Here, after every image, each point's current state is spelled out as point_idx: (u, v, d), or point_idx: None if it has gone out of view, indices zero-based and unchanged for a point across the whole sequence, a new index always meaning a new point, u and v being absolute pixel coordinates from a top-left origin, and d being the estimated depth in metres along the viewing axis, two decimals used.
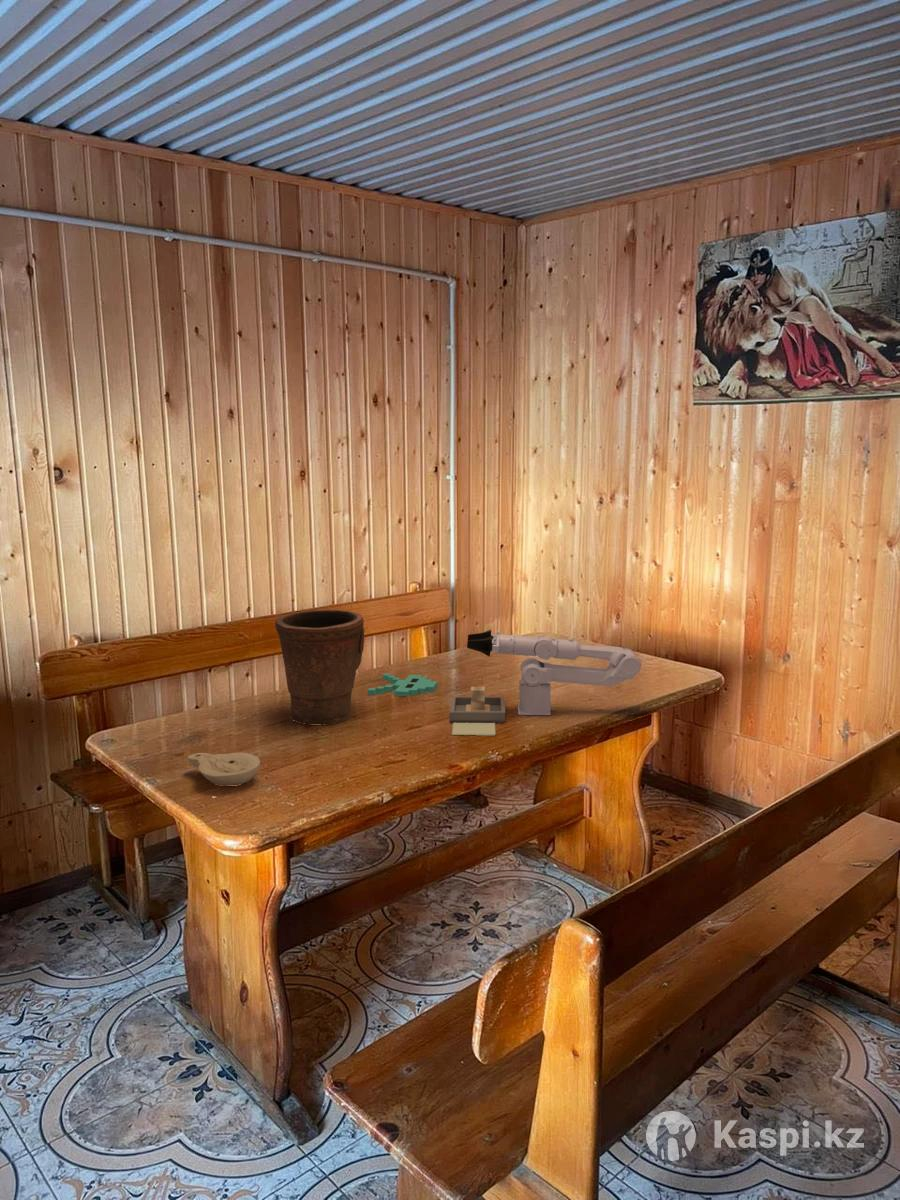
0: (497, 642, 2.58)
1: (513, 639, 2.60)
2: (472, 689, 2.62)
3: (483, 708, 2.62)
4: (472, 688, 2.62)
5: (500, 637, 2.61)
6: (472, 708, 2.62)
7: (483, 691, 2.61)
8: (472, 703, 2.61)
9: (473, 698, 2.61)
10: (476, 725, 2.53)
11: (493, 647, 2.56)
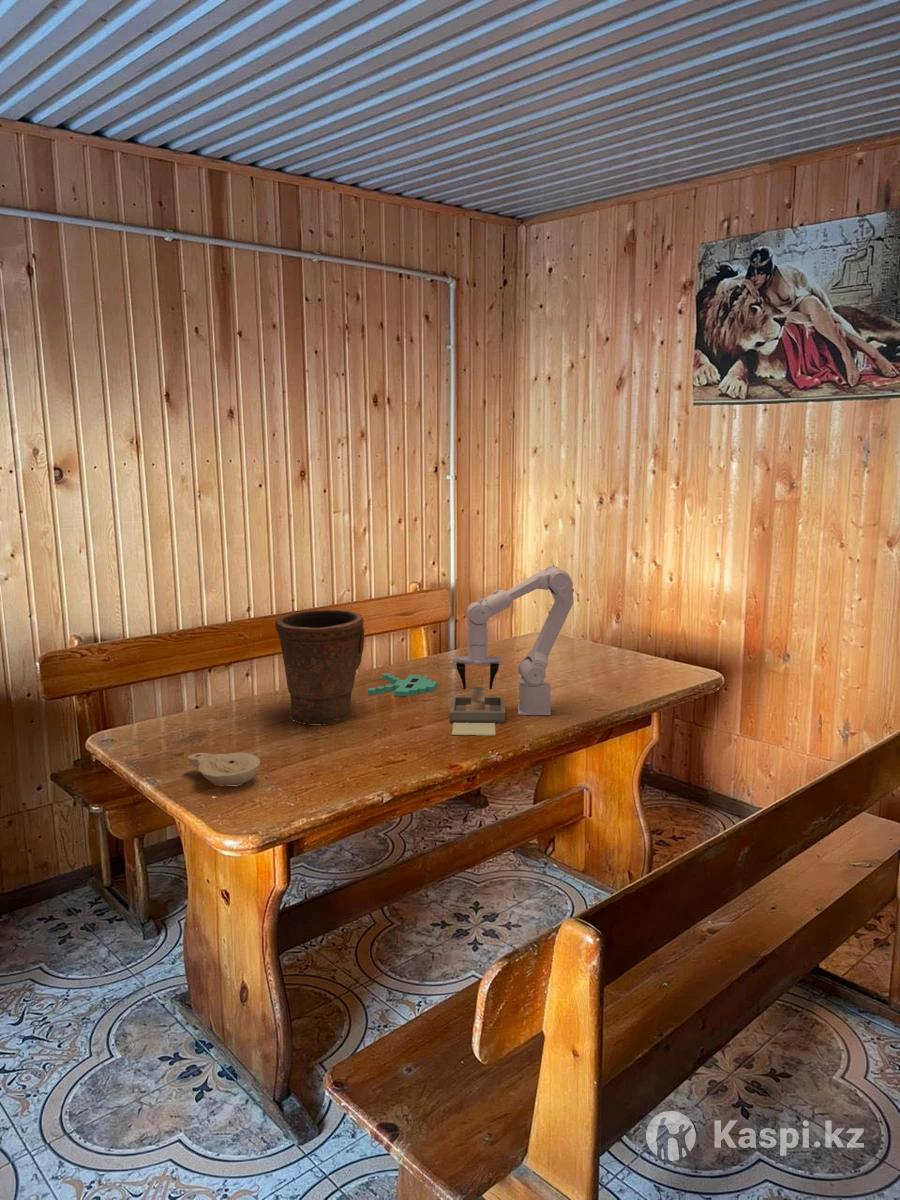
0: (494, 661, 2.59)
1: (484, 645, 2.58)
2: (472, 689, 2.62)
3: (483, 708, 2.62)
4: (472, 688, 2.62)
5: (483, 658, 2.58)
6: (472, 708, 2.62)
7: (483, 691, 2.61)
8: (472, 703, 2.61)
9: (473, 698, 2.61)
10: (476, 725, 2.53)
11: None
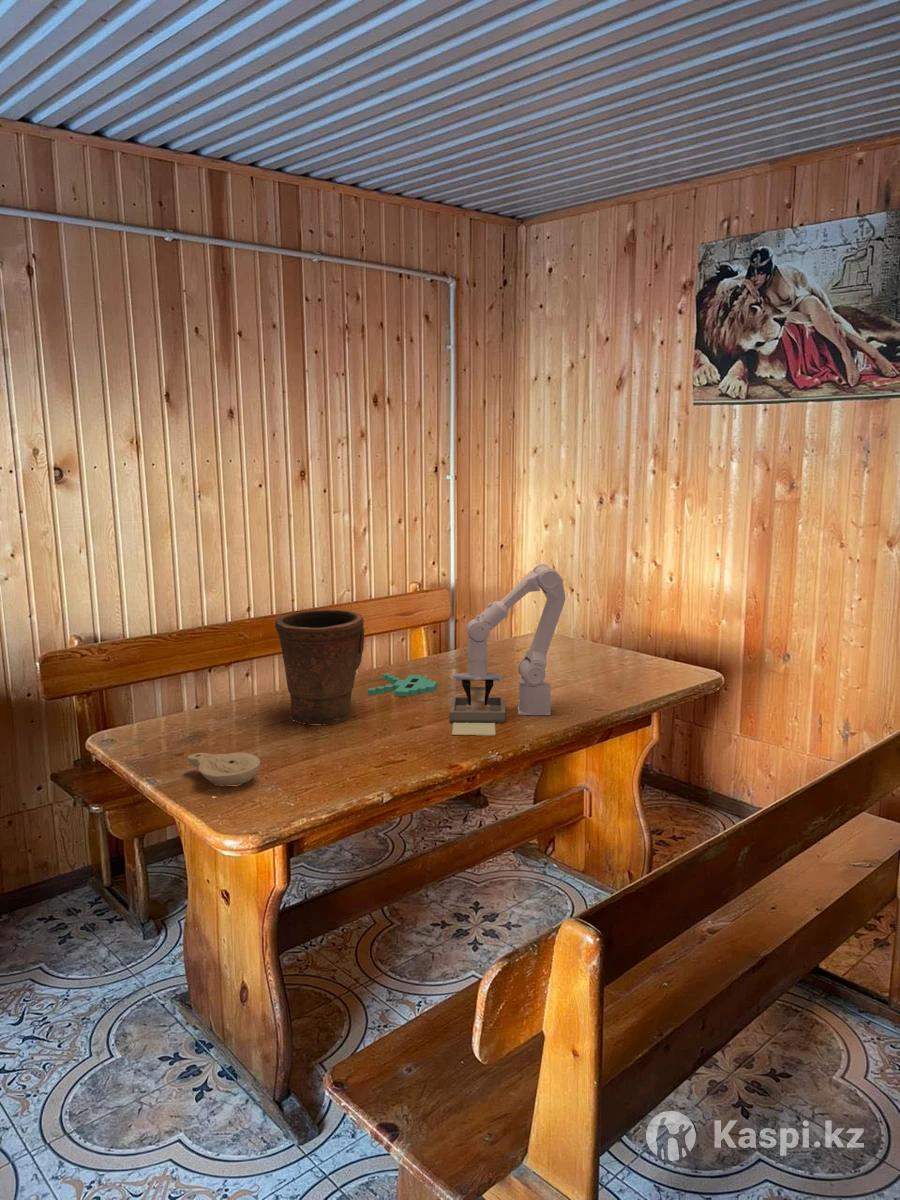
0: (494, 677, 2.60)
1: (484, 662, 2.59)
2: (472, 689, 2.62)
3: (483, 708, 2.62)
4: (472, 688, 2.62)
5: (483, 675, 2.59)
6: (472, 708, 2.62)
7: (483, 691, 2.61)
8: (472, 703, 2.61)
9: (473, 698, 2.61)
10: (476, 725, 2.53)
11: None
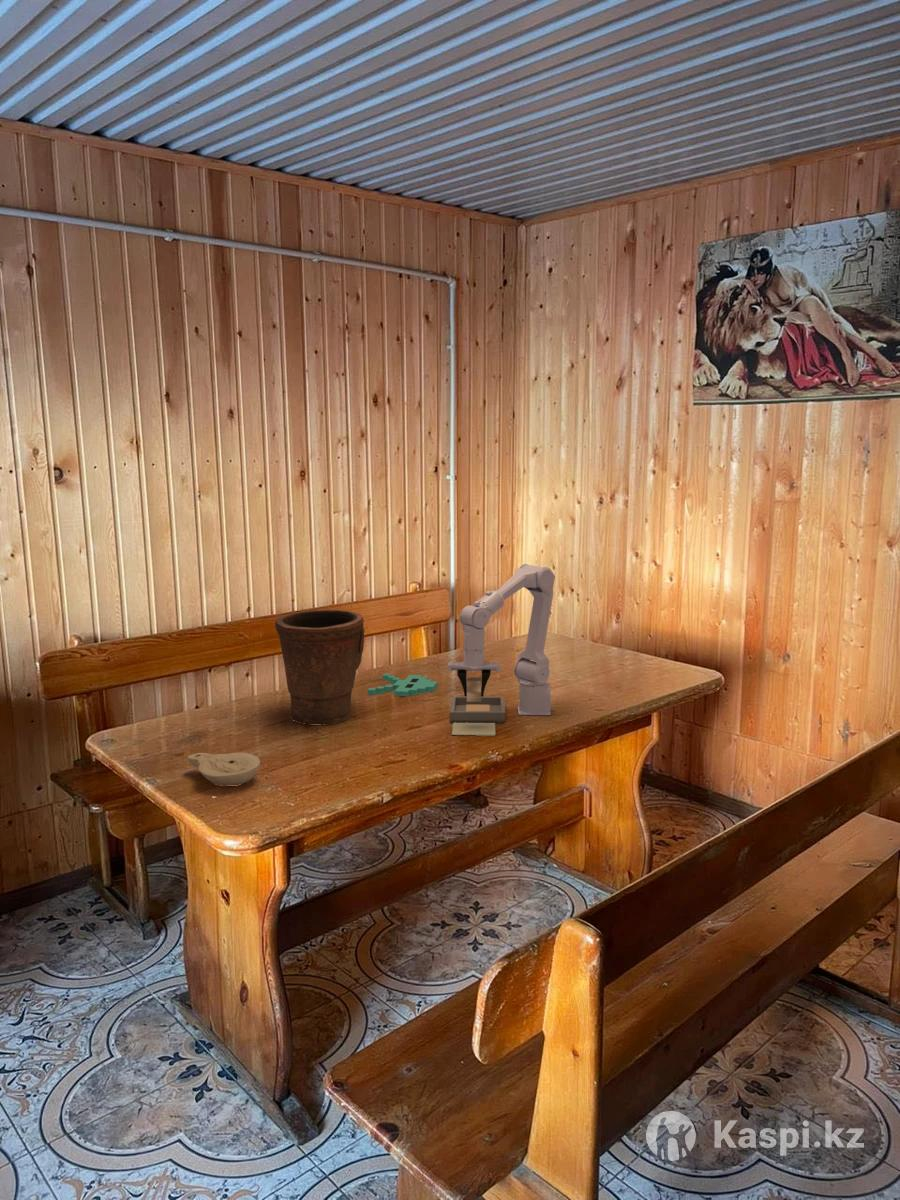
0: (491, 667, 2.47)
1: (480, 651, 2.46)
2: (468, 679, 2.49)
3: (479, 699, 2.49)
4: (468, 679, 2.50)
5: (479, 664, 2.46)
6: (468, 699, 2.49)
7: (479, 681, 2.48)
8: (468, 694, 2.49)
9: (469, 689, 2.48)
10: (476, 725, 2.53)
11: (499, 669, 2.48)
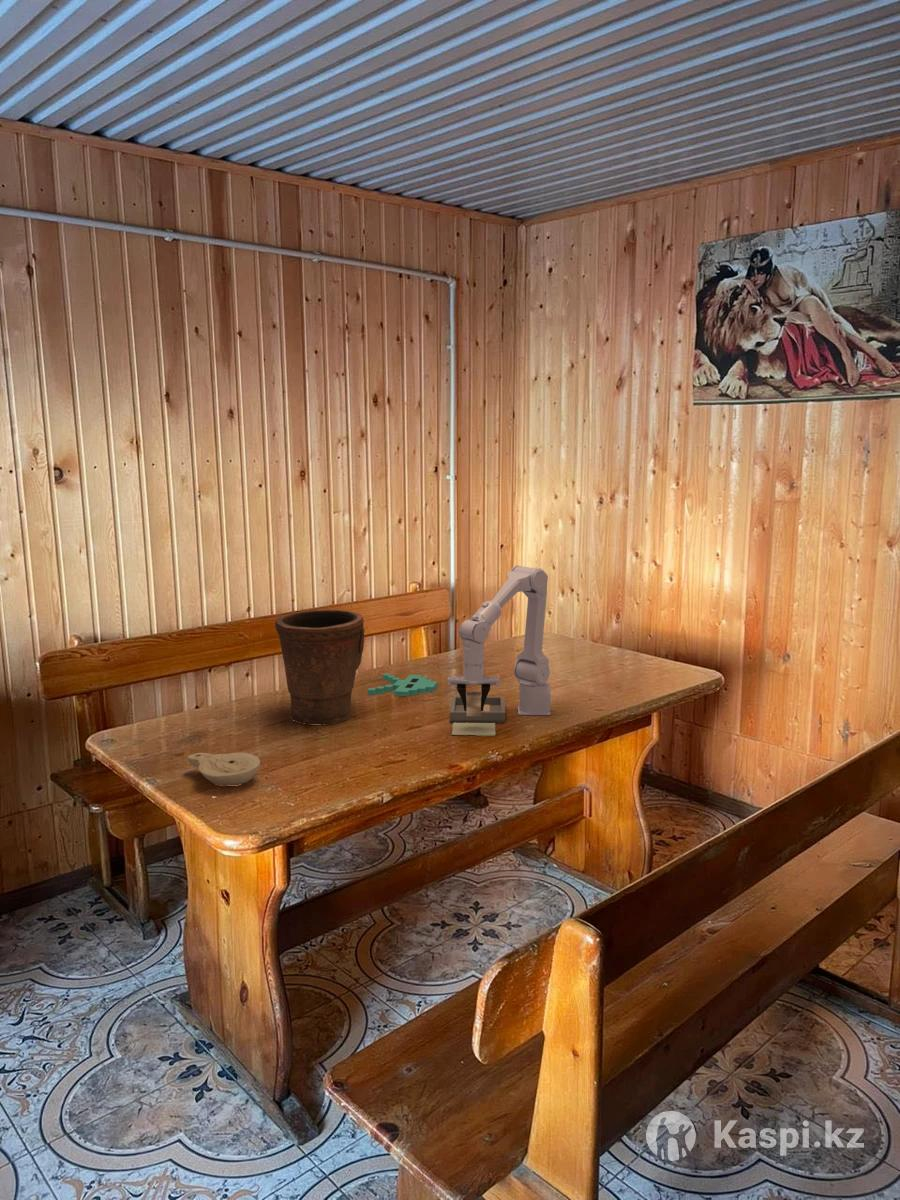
0: (490, 681, 2.46)
1: (480, 665, 2.45)
2: (468, 694, 2.48)
3: (479, 714, 2.48)
4: (468, 693, 2.48)
5: (479, 679, 2.45)
6: (468, 714, 2.48)
7: (479, 696, 2.47)
8: (468, 709, 2.48)
9: (469, 704, 2.47)
10: (476, 725, 2.53)
11: (499, 684, 2.47)
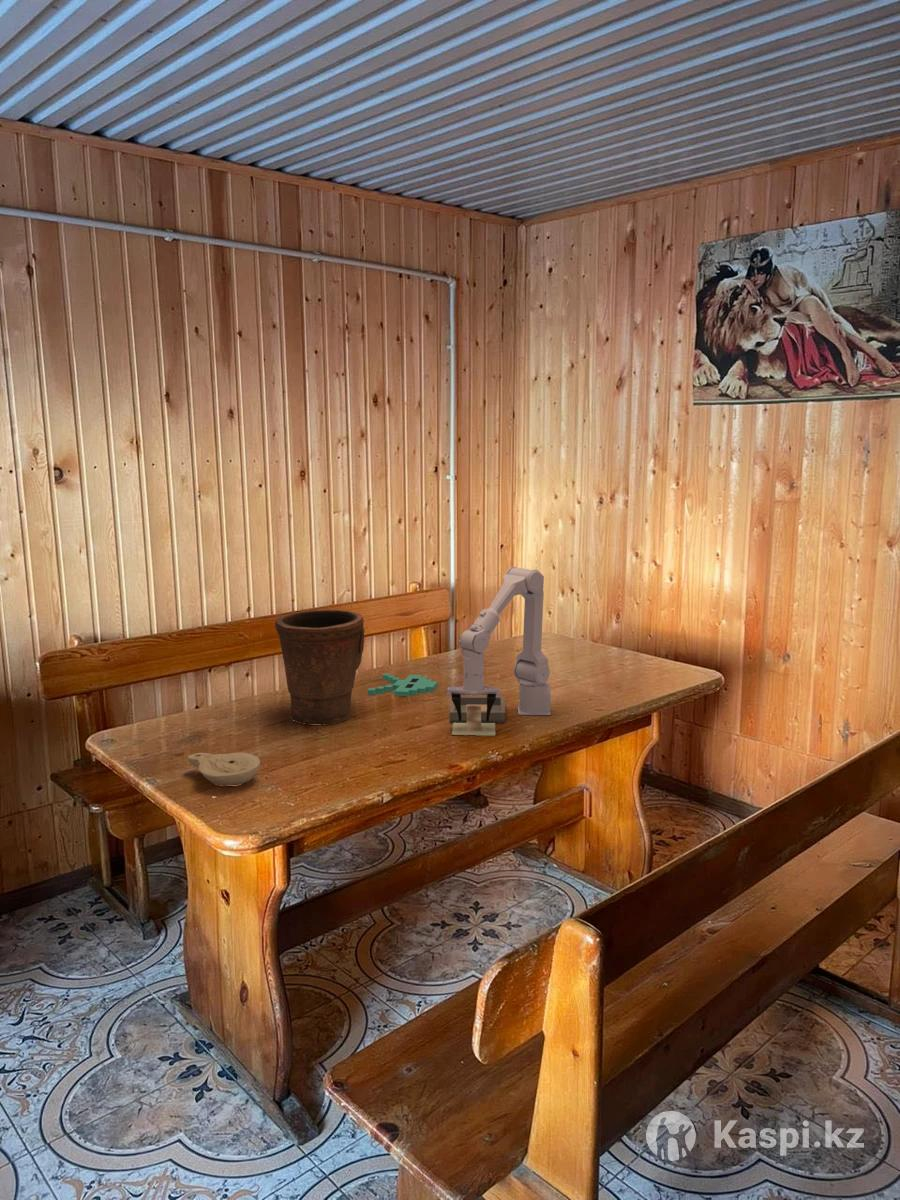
0: (490, 691, 2.46)
1: (480, 675, 2.45)
2: (468, 708, 2.49)
3: (479, 728, 2.48)
4: (468, 708, 2.49)
5: (479, 689, 2.46)
6: (468, 728, 2.49)
7: (479, 710, 2.47)
8: (468, 723, 2.48)
9: (469, 718, 2.48)
10: None
11: (499, 694, 2.48)
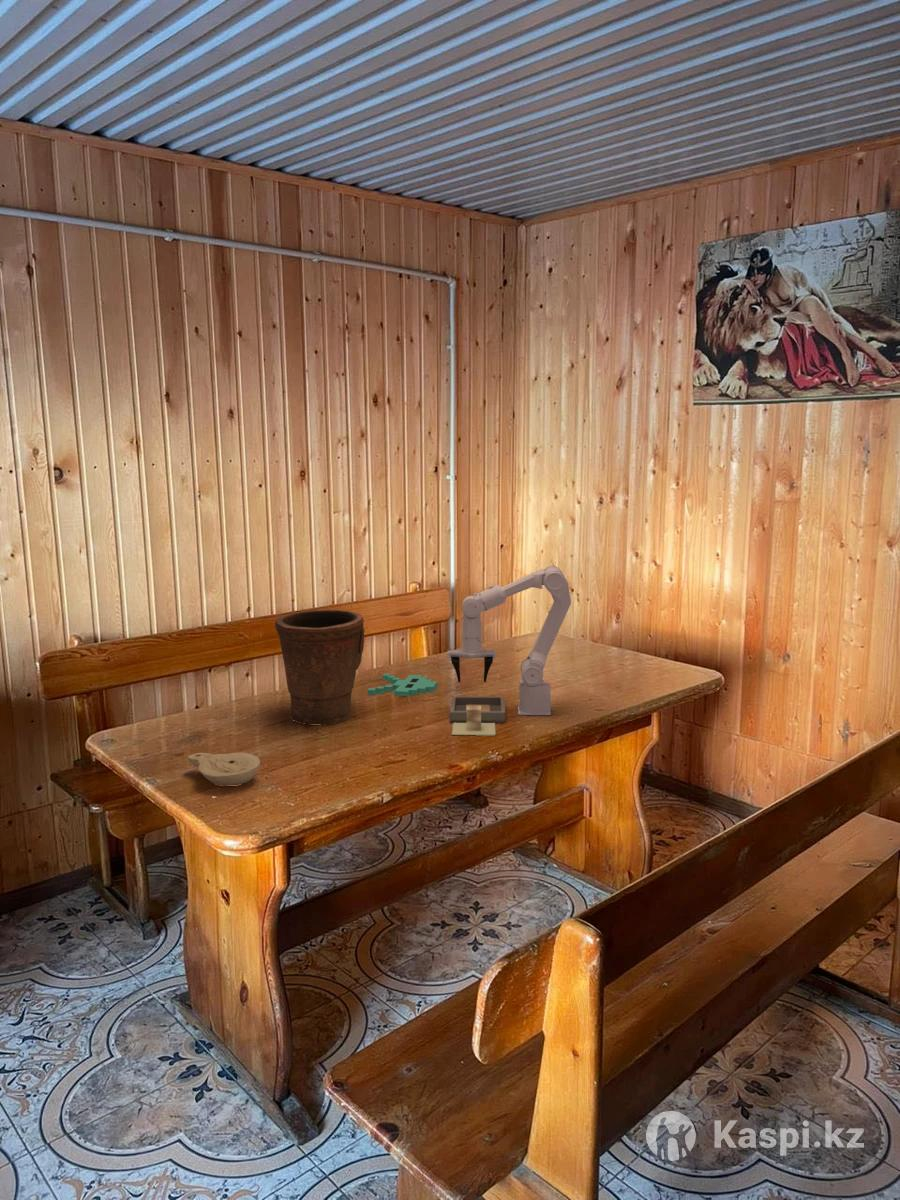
0: (488, 654, 2.62)
1: (478, 639, 2.61)
2: (468, 708, 2.49)
3: (479, 728, 2.48)
4: (468, 708, 2.49)
5: (477, 651, 2.61)
6: (468, 728, 2.49)
7: (479, 710, 2.47)
8: (468, 723, 2.48)
9: (469, 718, 2.48)
10: None
11: None
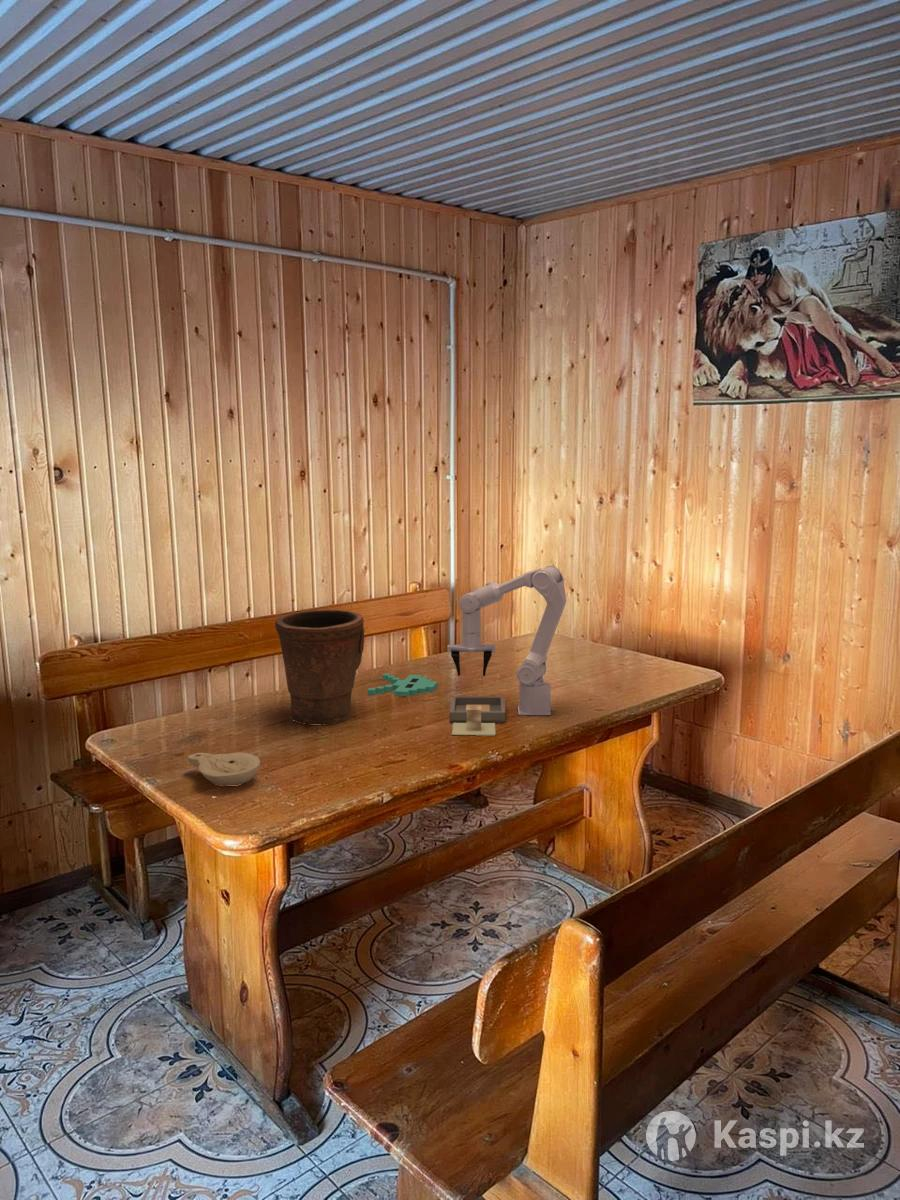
0: (487, 648, 2.69)
1: (477, 633, 2.68)
2: (468, 708, 2.49)
3: (479, 728, 2.48)
4: (468, 708, 2.49)
5: (476, 646, 2.68)
6: (468, 728, 2.49)
7: (479, 710, 2.47)
8: (468, 723, 2.48)
9: (469, 718, 2.48)
10: None
11: None
